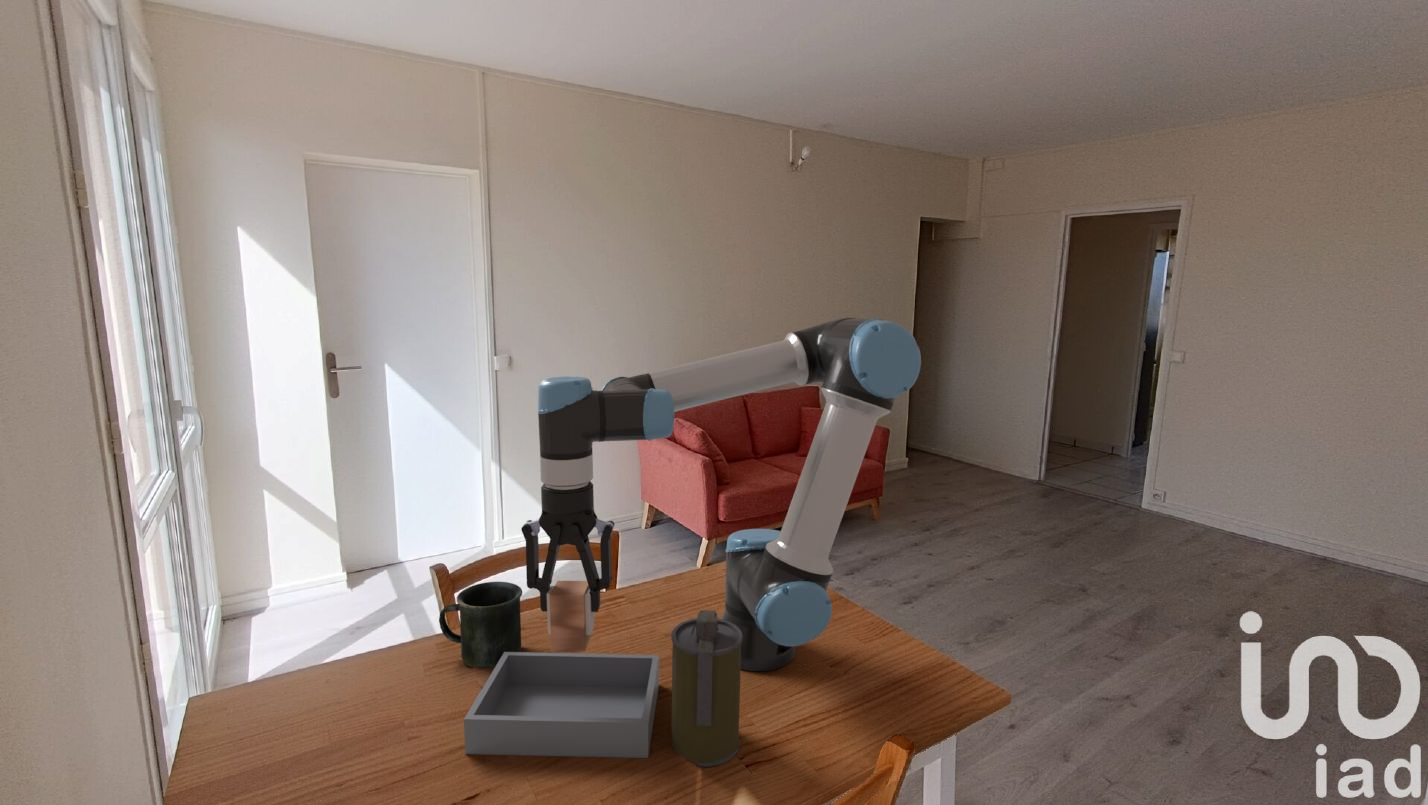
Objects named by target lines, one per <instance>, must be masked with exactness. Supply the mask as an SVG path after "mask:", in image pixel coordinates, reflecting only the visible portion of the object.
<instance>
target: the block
mask: <svg viewBox="0 0 1428 805" xmlns="http://www.w3.org/2000/svg"><path fill="white" fill-rule="evenodd" d="M553 586H554V588H553V590H552V592H551V593H550V625H551V635H550V651H551V652H550V653H586V651H587V647H588V645H589V641H590V639H591V637H592V634H591V635H586V612H585V593H586V591H587V589H588V582H587V580H557V581H556V583H555V584H554V585H553Z"/></svg>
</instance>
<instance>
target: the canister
mask: <svg viewBox="0 0 1428 805" xmlns="http://www.w3.org/2000/svg"><path fill="white" fill-rule="evenodd" d="M716 611H717V610H708V609H707V610H704V609H703V610H700V611H699V612H698V613H697V616H696V618H690V619H687V620H684V621H682V622H680V623H678V624H677V625H676V626H675V627H673V629H672V630H671V633H670V634H671V635H670V640H671V642H672V652H671V653H672V660H671V662H672V663H671V664H672V665H671V666H672V667H671V668H672V669H671V670H672V671H671V672H672V673H671V678H672V679H671V740H670V741H671V746H672V749H673V751H675V752H676V754H678V755H679V756H680V757H681V758H684V759H686V760H688V761H690V762H694V763H696V767H701V768H707V767H715V766H716V767H717V766H720V765H723V764H725V763H727V762H729V761H730V760H732V759H733V758H734V757H735V756H736V755H737V753H738V752H739V750H740V746H741V743H740V742H741V740H740V737H739V732H740V731H739V727H740V701H741V700H740V699H741V695H740V694H741V670H742V669H741V643H742V641H743V634H742V632H741V630H740V629H739V628H738V627H737V626H736V625H734V624H733V623H731V622H728V621H725V620H722V618H718V612H716Z"/></svg>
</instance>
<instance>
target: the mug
mask: <svg viewBox="0 0 1428 805" xmlns="http://www.w3.org/2000/svg"><path fill="white" fill-rule="evenodd" d="M522 595H523V590H522V588H521V586H519V585H517V584H515V583H512V582H507V581H488V582H487V581H486V582H482V583H481V582H480V583H477V584H474V585H471V586H469V587H467V588H465V589H463V590H462V591H460V592H459V593H458V594H457V596H456V603H452V604H448V605H445V606H444V608H443V609H442V610H441V611H440V612H439V618H438V622H439V627H440V629H441V632H442V634H443V636H445V638H446V639H447V640H449V641H450V642H453V643H457V644H460V650H461V659H462V661H463V663H464V664H465V665H467V666H468V667H470V668H474V667H475V668H492V667H494V668H495V667H496V665H497V663H498V662H499V660H500V658H501V657H502V655H503V653H504V652H522V628H521V627H522V626H521V622H522V620H521V619H522V618H521V597H522ZM449 612H459V623H460V624H459V627H460V634H456V633H455V632H453V630H451V628H450V627H449V625H448V623H447V620H446V613H449Z"/></svg>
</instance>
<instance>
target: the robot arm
mask: <svg viewBox="0 0 1428 805" xmlns="http://www.w3.org/2000/svg"><path fill="white" fill-rule="evenodd" d="M921 366H922V356H921V350H920V346H918V343H917V341H916V339H915V337H914V335H913V334H912V333H911V332H910V331H909V329H907V328H906V327H904V326H903V325H901V324H900V323H896V322H893V321H890V320H884V319H881V318H872V319H871V318H870V319H868V318H856V317H843V318H841V317H840V318H837V319H833V320H830V321H827V322H824V323H820V324H818V325H813V326H810V327H808V328H804V329H801V330H796V331H791V332H788V333H787V334H786V336H785V337H784V339H783V340H780V341H775V342H771V343H768V344H763V345H759V346H755V347H751V348H746V349H742V350H738V351H734V352H730V353H725V354H722V355H718V356H714V357H708V358H705V359H700V360H696V361H693V362H688V363H684V364H679V365H675V366H670V367H667V368H662V369H659V370H655V371H650V372H647V373H642V374H638V375H634V376H629V377H628V376H617V377H613V378H610V379H609V380H608V381H606V382H605V383H604V384H603V385H602V387H601V389H600V390H597V389H596V390H593V387H592V382H591V380H590V379H589V378H588V377H583V376H555V377H549V378H546V379H543V380H542V381H541V383H539V386H538V402H537V403H538V408H537V413H538V414H537V415H538V416H537V418H538V434H539V438H538V440H539V458H540V459H539V460H540V462H539V463H540V464H539V465H540V467H539V468H540V481H541V483H543V484H542V486H541V487H540V491H541V492H540V495H541V498H540V499H541V513H540V517H539V518H537V519H534V520H532V519H528V520H526V522H525V523H524V524H523V525H522V526H521V532H522V535H523V537H524V540H525V555H526V556H525V560H526V562H525V565H526V587H527V588H528V589H535V590H537V591H538V592H539V604H540V607H539V608H540V610H541V612H542V613H543V612H545V613H546V612H547V616H546V617H547V618H546V619H547V635H550V636H551V625H550V593H551V592H552V590H553V588H554V586H555V585H552V582H553V576H554V571H555V569H556V568H555V567H556V564H557V561H558V560H557V559H558V556H559V552H560V548H561V546H564V545H571V546H575V549H576V551H577V553H578V555H579V558H580V562H581V565H582V568H583V572H584V575H585V578H586V579H585V580H586V581H587V582H588V589H587V591H586V593H585V612H586V635H591V636H592V633H593V630H594V627H595V613H598V611H599V609H600V607H601V591H602V590H608V589H609V588H610V586H611V584H612V582H613V567H612V566H613V560H612V557H613V556H612V533H613V532H614V531H613V530H614V527H615V522H614V521H613V520H609V521H604V520H602V519H599V518H598V516H597V514H596V513H595V512H596V511H595V504H594V502H595V501H594V498H595V497H594V484H593V482H592V480H593V479H594V460H593V459H594V458H593V457H594V456H593V443H595V442H597V443H598V442H599V443H601V442H622V441H623V442H625V441H629V442H630V441H650V442H651V441H653V440H659V439H667V438H670V436H671V435H672V434H673V431H674V428H675V412H679V411H683V410H686V409H687V410H688V409H690V408H691V409H692V408H694V407H699V406H702V405H708V404H710V403H715V402H719V401H722V400H726V399H730V398H734V397H738V396H743V395H746V394H750V393H754V392H759V391H763V390H766V389H770V388H774V387H775V388H776V387H778V386H782V385H786V384H790V383H795V384H797V385H798V386H799V387H800V386H802V387H803V386H805V385H806V386H807V385H809V384H815V383H822V385H821V388H820V389H821V392H822V394H823V396H824V398H825V402H826V403H825V406H824V408H823V411H822V412H821V413H822V414H821V416H820V419H819V422H818V425H817V428H816V431H815V433H814V437H813V439H812V442H811V445H810V447H809V450H808V453H807V456H806V459H805V462H804V465H803V468H802V470H801V473H800V476H799V479H798V482H797V484H796V488H795V490H794V493H793V496H792V499H791V501H790V504H789V507H788V511H787V513H786V516H785V518H784V521H783V524H782V527H781V530H777V529H771V528H749V529H747V528H746V529H741V530H737V531H735V532H734V531H733V532H732V533H731V534H730V535H728V537H727V540H726V549H725V553H726V556H725V599H724V600H725V602H724V611H723V613H722V617H721V619H722V620H725V621H728V622H731V623H733V624H734V625H736V626H737V627H738V628H739V629H740V630H741V632H742V634H743V641H742V643H741V670H743V671H750V672H767V671H774V670H778V669H781V668H783V667H785V666H787V665H788V664H790V663H791V662H792V660H793V659H794V658H795V654H796V647H799V646H804V645H806V644H807V643H808V642H810V641H813V640H815V639H816V638H818V637H819V636H821V634H823V632H824V631H825V630H826V628H827V626H828V625H829V624H830V621H831V618H832V613H833V605H832V601H831V598H830V595H829V592H827V589H828V586H829V584H830V581H831V578H832V576H833V573H834V568H833V566H832V563H831V562H830V560H829V556H830V553H831V550H832V548H833V544H834V542H835V539H836V536H837V534H838V530H839V528H840V525H841V522H842V519H843V518H844V515H845V511H846V509H847V505H848V503H849V499H850V497H851V495H852V491H853V488H854V486H855V483H856V481H857V477H858V475H859V472H860V470H861V466H862V463H863V461H864V458H865V456H866V453H867V450H868V447H869V444H870V441H871V439H872V436H873V433H874V431H875V427H876V425H877V422H878V420H879V419H880V418H882V417H885V416H887V415H889V414H890V413H891V412H892V409H893V407H894V406H893V405H894V403H895V401H896V398H897V397H899V396H901V395H903V394H904V393H905V392H908V391H909V390H910V389H911V388H912V387H913V386H914V385H915V383H916V381H917V379H918V378H919V374H920V371H921ZM594 528H596V530H597V535H598V536H599V537H600V542H599V543H600V546H599V547H600V548H599V549H600V572H601V573H600V574H601V576H599V575H600V574H599V573H598V569H597V565H596V563H595V558H594V556H593V552H592V549H591V545H590V542H591V541H590V538H589V535H590V533H591V532H592V531H593V530H594ZM541 529H542V530H543V531H544V532H545V533H546V535H547V536H548V538H549V543H548V548H547V554H546V557H545V563H544V566H543V570H542V573H541V577H540V564H539V563H540V562H539V561H540V560H539V559H540V558H539V556H540V555H539V533H540V532H541Z"/></svg>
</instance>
